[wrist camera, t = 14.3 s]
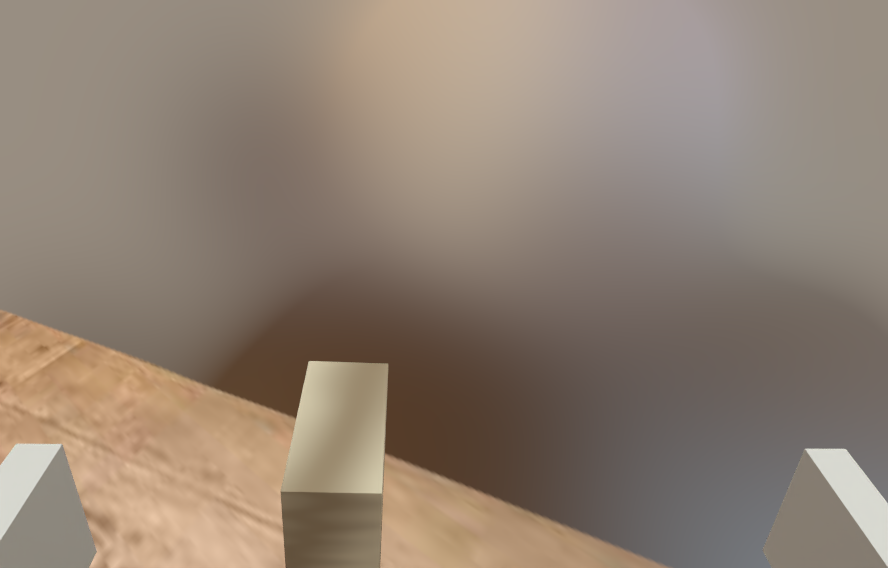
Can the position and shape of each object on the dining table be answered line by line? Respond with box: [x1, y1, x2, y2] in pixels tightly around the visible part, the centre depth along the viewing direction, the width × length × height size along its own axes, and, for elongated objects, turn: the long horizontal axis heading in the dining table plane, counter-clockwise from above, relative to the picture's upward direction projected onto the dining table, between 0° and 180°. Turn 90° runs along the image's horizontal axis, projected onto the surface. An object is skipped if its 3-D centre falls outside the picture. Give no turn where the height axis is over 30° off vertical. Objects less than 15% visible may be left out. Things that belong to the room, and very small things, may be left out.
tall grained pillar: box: [281, 361, 388, 568], centre depth 31 cm, size 4×8×18 cm, turn 2°
